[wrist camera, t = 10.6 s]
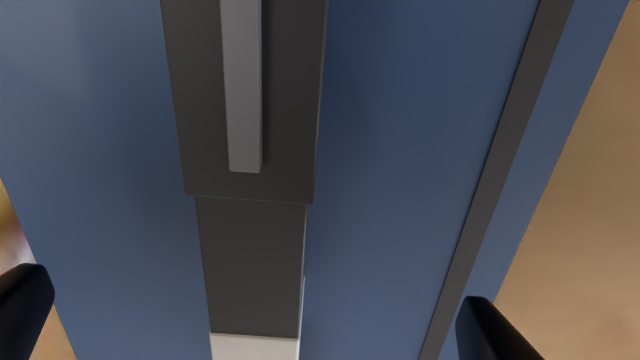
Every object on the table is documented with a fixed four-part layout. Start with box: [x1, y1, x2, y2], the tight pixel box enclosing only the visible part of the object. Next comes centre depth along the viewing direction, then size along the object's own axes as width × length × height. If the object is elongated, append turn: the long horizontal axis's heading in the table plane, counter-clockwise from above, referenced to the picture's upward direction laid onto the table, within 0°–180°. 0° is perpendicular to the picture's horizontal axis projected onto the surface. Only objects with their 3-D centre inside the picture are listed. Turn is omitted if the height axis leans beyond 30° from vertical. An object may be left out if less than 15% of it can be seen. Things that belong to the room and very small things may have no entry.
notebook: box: [0, 0, 629, 360], centre depth 11 cm, size 13×20×1 cm, turn 176°
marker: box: [160, 0, 329, 360], centre depth 10 cm, size 14×2×3 cm, turn 176°
